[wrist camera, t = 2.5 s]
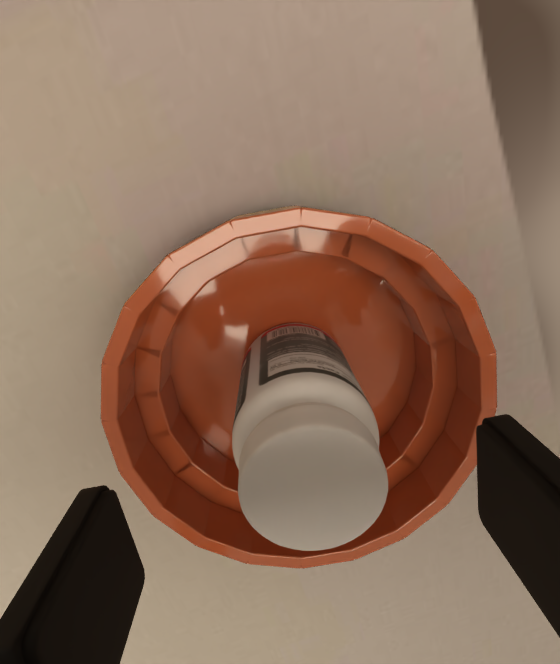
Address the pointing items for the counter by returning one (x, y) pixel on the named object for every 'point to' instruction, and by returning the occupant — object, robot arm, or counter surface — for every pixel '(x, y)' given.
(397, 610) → the counter surface
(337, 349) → the pill bottle
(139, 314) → the bowl
